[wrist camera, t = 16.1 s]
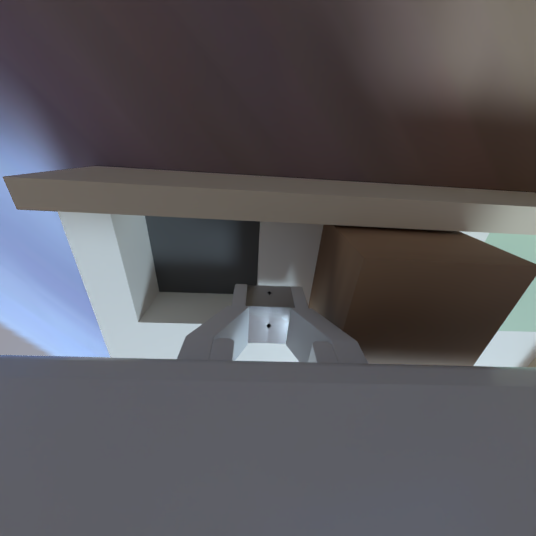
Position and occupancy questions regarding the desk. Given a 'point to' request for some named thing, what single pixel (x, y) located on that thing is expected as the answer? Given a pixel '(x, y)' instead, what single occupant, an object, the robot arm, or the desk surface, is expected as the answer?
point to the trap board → (247, 244)
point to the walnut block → (416, 292)
